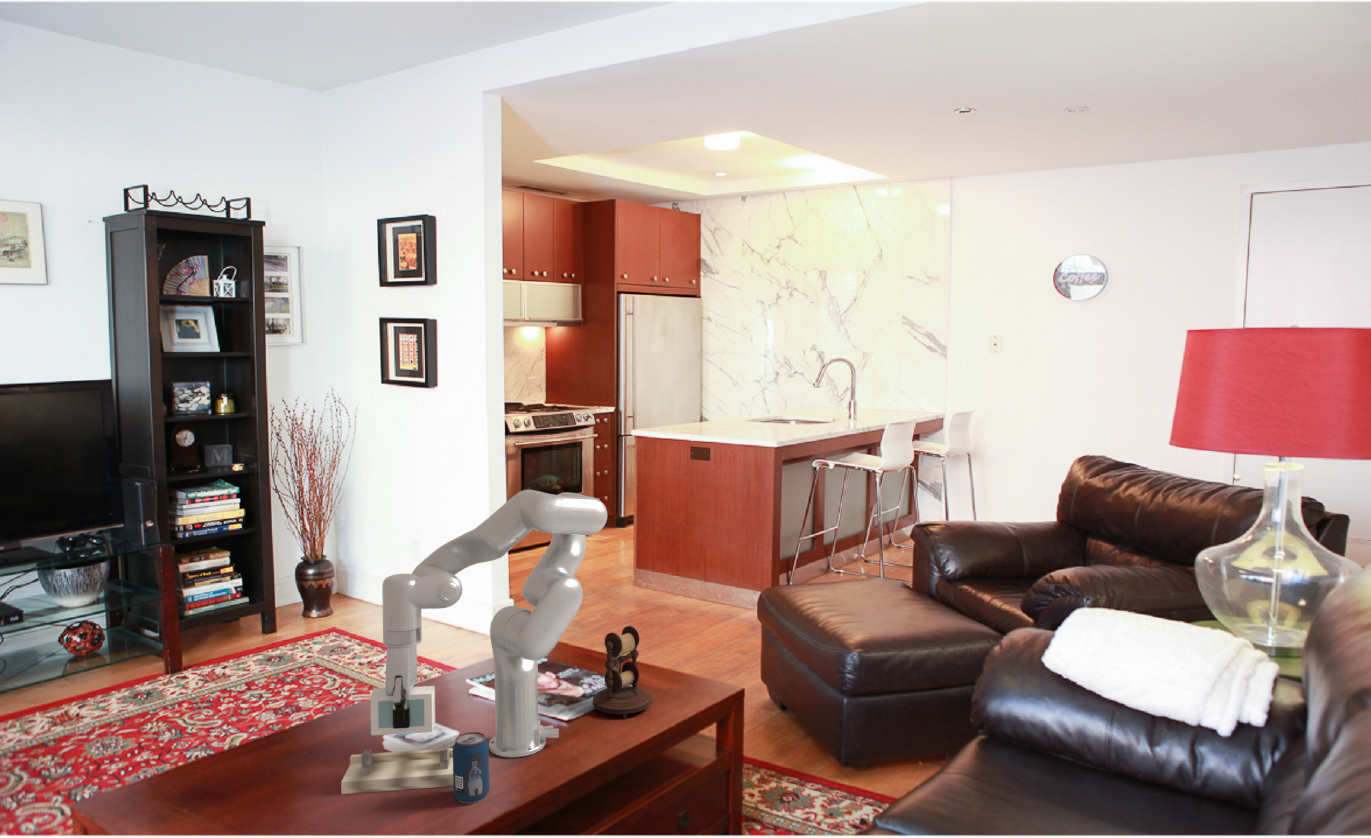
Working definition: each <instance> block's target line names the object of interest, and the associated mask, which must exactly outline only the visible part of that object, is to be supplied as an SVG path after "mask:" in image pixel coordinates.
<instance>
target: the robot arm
mask: <svg viewBox="0 0 1371 838" xmlns="http://www.w3.org/2000/svg"><path fill="white" fill-rule="evenodd" d="M607 520H608V511H607V508H606V505H605V504H604V502H602V501H601V500H600V499H598V498H596V497H593V496H588V495H583V494H579V493H576V492H569V491H568V492H567V491H566V492H561V493H558V494H553V493H552V494H551V493H548V492H543V491H539V490H534V489H523V490H521V491H519V492H518V493H516V494H514V495H513V496H511V498H510V499H508V500H507V501H506V502H505V503H504V504H502V505H501V506H499V508H498V509H497V510H496V511H494V512H493V513H492V514H490V516H489V517H487V518H486V519H485V520H484V521H483V522H481V523H480V524H479V525H478V526H477V527H475V528H473V529H472V530H470V531H468V532H465V533H463V534H461V535H459V536H457V537H456V538H454V539H451V540H450V541H448V542H445V543H444V544H442V545H441V546H439V547H438V548H437V549H435V550H434V551H432V553H430V554H429V555H428V556H427V557H426V558H425V559H423V560H422V561H421V562H420V563H419V564H417V566H416V567H415V568H414V569H413V570H412V572H411V573H397V574H396V573H395V574H391V575H388V576H387V577H386V578H385V579H384V580H383V582H382V589H381V591H382V645H383V646H384V647H386V648H387V650H386V659H385V687H384V688H385V694H386V696H389V695H391V693H392V691H393V689H394V691H393V728H394V729H398V728H409V726H410V711H409V708H408V694H410V693H411V691H412V689H413V687H415V684H416V681H417V676H418V673H417V672H418V655H417V654H418V651H417V647H418V646H417V645H419V644H421V643H422V640H423V639H422V610H430V609H431V610H432V609H436V610H437V609H447V608H449V607H451V606H454V605H455V604H456V603H458V601H459V600H460V599H461V597H462V595H463V585H462V581H461V580H460V578H458V576H456V575H457V574H458V573H460V572H461V571H463V570H465V569H467V568H469V567H472V566H474V565H477V564H481V563H487V562H491V561H495V560H500V559H501V558H502V557H504V556H505V555H506V554H507V553H508V552H509V551H510V550H512V549H513V548H514V547H515V546H516V545H517V544H518V543H520V542H521V541H522V540H523V539H524V538H525V537H526V536H527V535H528V534H530V533H531V532H532V531H537V532H540V533H545V534H552V536H551V541H550V543H549V545H548V546H547V549H546V550H545V552H544V554H543V555H542V556H541V558H539V560H538V562H537V564H535V566H534V567H533V569H532V571H531V572H529V573H530V574H529V575H528V576H527V577H526V579H525V580H524V583H523V586H522V590H521V592H522V597H523V599H524V600H525V601H526V603H528V604H529V605H530V606H533V607H534V608H533V610H532V611H531V610H529V609H526V608H525V607H521V606H518V605H508V606H505V607H502V608H501V609H499V610H498V611H497V612H496V613H495V614H494V615H493V617H492V619H491V621H490V628H489V636H490V637H489V638H490V644H491V649H492V655H493V656H492V657H493V662H494V663H493V665H494V667H493V668H494V702H495V703H494V709H495V712H494V713H495V735H494V736H493V737H491V738H490V740H489V742H488V749H489V752H491V753H492V754H493V755H496V756H498V757H503V758H520V757H521V758H522V757H527V756H530V755H533V754H536V753H538V752H540V751H541V750H543V748H544V747H545V746H546V744H547V741H546V740H547V739H549V738H551V739H554V738H556V739H557V738H559V737H560V736H559V735H560V734H559V733H560V732H559V730H560V729H559V727H558V728H554V725H547V726H546V725H545V726H544V725H543V724H542V725H541V719H539V679H538V678H539V674H538V673H539V669H538V666H539V665H538V661H540V660H542V659H544V658H545V657H547V656H548V655H549V654H550V653H551V652H553V650H554V648H555V647H556V645H558V643H559V642H560V640H561V638H562V636H563V635H564V634H565V632H566V631H567V629H568V628H569V626H570V625H571V623H572V622H573V620H574V618H575V617H576V615H577V614H578V612H579V610H580V608H581V605H582V601H583V596H584V591H583V586H582V584H581V583H580V581H579V580H578V578H576V577H575V574H576V573H577V571H578V569H579V567H580V566H581V565H582V562H583V560H584V558H585V555H586V550H587V536H591V535H594V534H597V533H598V532H600V531H601V530H602V529H603V528H604V527H605V525H606V523H607ZM405 690H406V692H405V693H402V691H405ZM402 697H405V700H404V699H402ZM546 738H547V739H546Z"/></svg>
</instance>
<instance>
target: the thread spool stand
mask: <svg viewBox="0 0 1371 838" xmlns="http://www.w3.org/2000/svg"><path fill="white" fill-rule="evenodd" d="M639 644H640V634H639V632H638V630H637V629H636V628H635V627H634V626H632V625H627V626H625V627H624V628H623V629H622V631H621V635H618V634H617V633H615V632H608V633H607V634H606V635H605V638H604V647H605V649H606V650H605V652H606V661H605V662H604V666H605V667H604V668H605V672H604V683H605V686H606V688H605V689H602V690H600V691H598V692H597V693H596V694H595V695H594V696H593V697H592V706H593V709H594V710H595V711H596V710H598V711H599V712H602V713H605V714H606V713H607V714H612V715H613V714H614V715H622V717H623V719H624V720H625V719H627V717H628V714H634V713H638V712H642V711H644V710H647V709H648V708H649V707H650V706H651V705H652V703H653V696H652V694H651V693H650V692H649V691H647V690H645V689H644V688H641V687H638V685H639V683H638V682H639V679H640V670H639V668H638V662H637V660H638V657H639V655H640V653H639V650H637V649H638V646H639ZM627 660H632V661H627ZM622 664H623V665H622Z"/></svg>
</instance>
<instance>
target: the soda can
mask: <svg viewBox="0 0 1371 838" xmlns="http://www.w3.org/2000/svg"><path fill="white" fill-rule="evenodd" d="M452 748H453V786H452V787H453V796H455V798H456V799H457V801H458V802H459V803H462V804H465V805H466V804H467V805H468V804H475V803H479V802H481V801H483V800H484V799H485V798H486V797H487V795H488V793H489V791H490V763H489V762H490V755H489V753H490V750H489V742H488V740H487V739H486V735H485V734H484V733H482V732H476V731H471V732H465V733H464V732H463V733H462V734H460V735H457V737H456V738H455V742H454V744H453V746H452Z"/></svg>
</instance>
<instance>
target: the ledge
mask: <svg viewBox="0 0 1371 838" xmlns="http://www.w3.org/2000/svg"><path fill="white" fill-rule="evenodd" d="M340 783H341V784H340V788H341V789H340V790H341V792H340V794H341V795H348V794H362V793H375V792H390V791H403V790H404V791H405V790H415V789H417V790H418V789H429V788H430V789H431V788H442V787H446V788H447V787H453V747H451V748H450V743H444V744H443V743H442V744H441V746H440V748H435V749H434V748H433V749H420V750H419V749H418V750H405V751H388V752H377V753H376V752H375V753H373V748H370V749H369V748H367V749H364V750H363V752H362V753H360V754H359V753H358V754H351V755H350V757H349V766H348V768H347V769H346V772H345V774H344V776H343V777H342V780H341V781H340Z"/></svg>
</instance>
